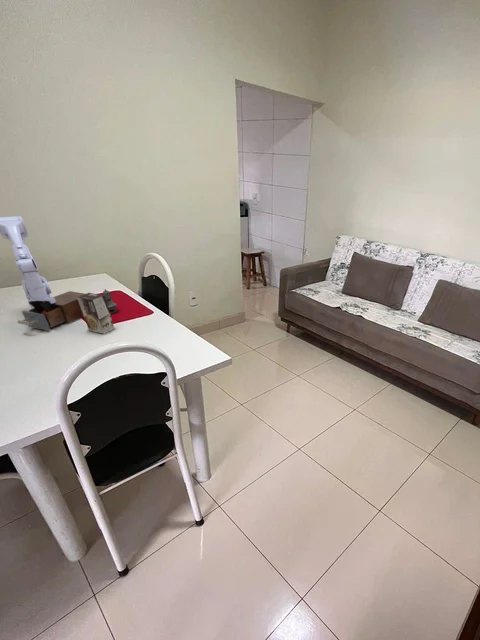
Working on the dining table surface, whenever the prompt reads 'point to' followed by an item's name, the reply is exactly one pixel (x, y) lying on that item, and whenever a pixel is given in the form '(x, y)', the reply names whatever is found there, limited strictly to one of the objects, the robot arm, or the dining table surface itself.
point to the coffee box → (96, 312)
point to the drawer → (43, 318)
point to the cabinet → (69, 305)
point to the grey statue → (109, 302)
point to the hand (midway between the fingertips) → (47, 315)
